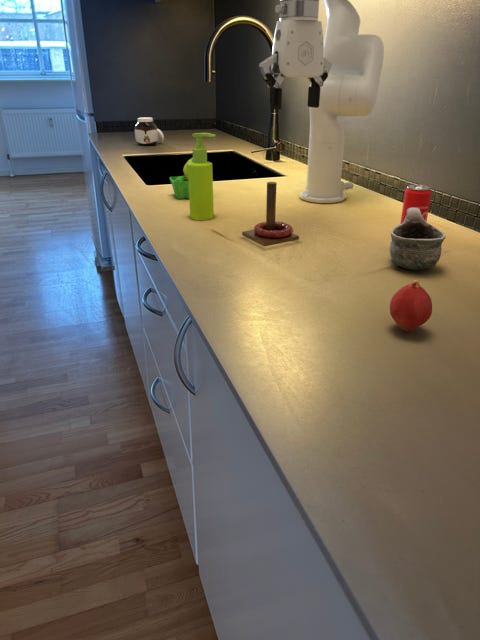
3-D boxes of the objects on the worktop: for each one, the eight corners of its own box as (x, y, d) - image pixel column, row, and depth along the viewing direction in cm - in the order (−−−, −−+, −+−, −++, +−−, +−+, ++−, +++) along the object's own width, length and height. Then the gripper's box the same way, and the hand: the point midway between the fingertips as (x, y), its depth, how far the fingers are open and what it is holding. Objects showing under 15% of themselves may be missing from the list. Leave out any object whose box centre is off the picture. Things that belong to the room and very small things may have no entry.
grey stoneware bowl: (395, 276, 93) (403, 223, 89) (375, 253, 104) (381, 205, 100) (446, 275, 94) (457, 222, 89) (421, 252, 105) (429, 204, 100)
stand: (275, 231, 118) (277, 176, 112) (299, 242, 111) (302, 184, 105) (242, 238, 113) (242, 181, 108) (264, 249, 107) (265, 189, 101)
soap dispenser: (214, 221, 125) (212, 135, 116) (187, 219, 127) (183, 134, 118) (220, 214, 131) (218, 131, 121) (193, 213, 132) (190, 131, 123)
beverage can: (423, 240, 112) (432, 185, 106) (422, 247, 107) (432, 190, 102) (398, 238, 113) (406, 183, 108) (396, 245, 109) (405, 188, 103)
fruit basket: (207, 191, 153) (206, 152, 148) (215, 198, 146) (214, 157, 141) (169, 194, 150) (167, 154, 145) (176, 201, 142) (173, 159, 137)
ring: (278, 225, 117) (278, 218, 116) (300, 235, 110) (300, 227, 110) (246, 231, 113) (247, 224, 112) (268, 241, 107) (268, 234, 106)
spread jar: (134, 145, 235) (131, 118, 229) (142, 142, 245) (140, 116, 239) (159, 146, 233) (157, 119, 228) (166, 142, 243) (164, 116, 237)
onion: (381, 321, 77) (388, 272, 74) (418, 320, 78) (426, 271, 74) (394, 340, 72) (402, 288, 68) (434, 339, 72) (444, 287, 69)
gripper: (272, 9, 92) (270, 111, 100) (346, 13, 100) (338, 107, 108) (250, 12, 98) (250, 108, 106) (321, 15, 106) (316, 105, 114)
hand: (294, 108), depth 107 cm, fingers open, 9 cm apart
